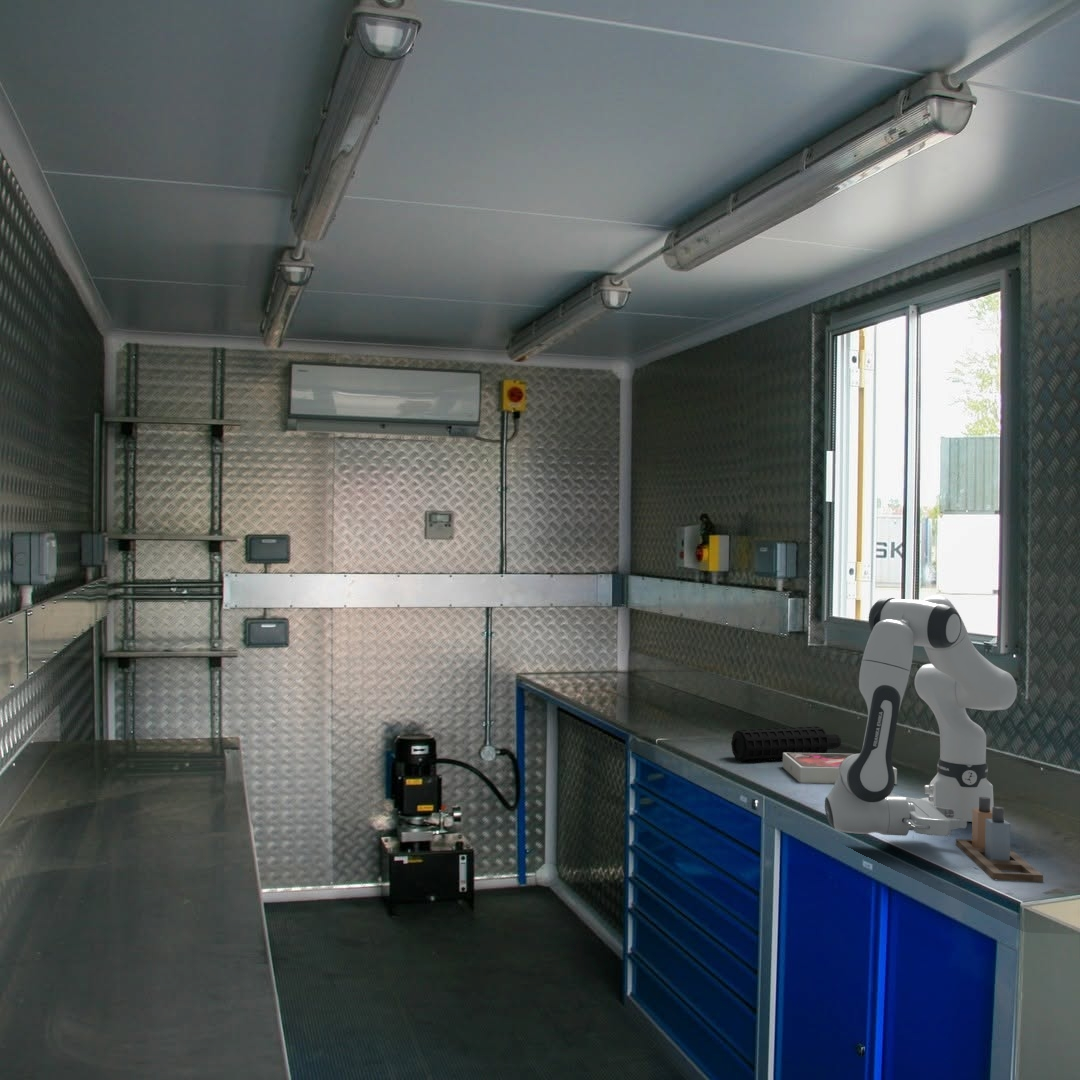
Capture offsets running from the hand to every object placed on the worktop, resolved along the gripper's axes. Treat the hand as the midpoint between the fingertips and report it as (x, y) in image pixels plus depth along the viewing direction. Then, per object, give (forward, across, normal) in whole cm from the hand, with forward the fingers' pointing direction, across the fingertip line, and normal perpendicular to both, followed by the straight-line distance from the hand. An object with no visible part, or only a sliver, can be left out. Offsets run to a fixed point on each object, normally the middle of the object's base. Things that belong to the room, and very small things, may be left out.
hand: (959, 818), depth 250 cm
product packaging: (-12, +77, +8) cm, 79 cm away
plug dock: (+6, -9, +7) cm, 13 cm away
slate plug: (+6, -9, +7) cm, 13 cm away
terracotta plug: (+6, 0, +7) cm, 9 cm away
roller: (-23, +101, +7) cm, 104 cm away
